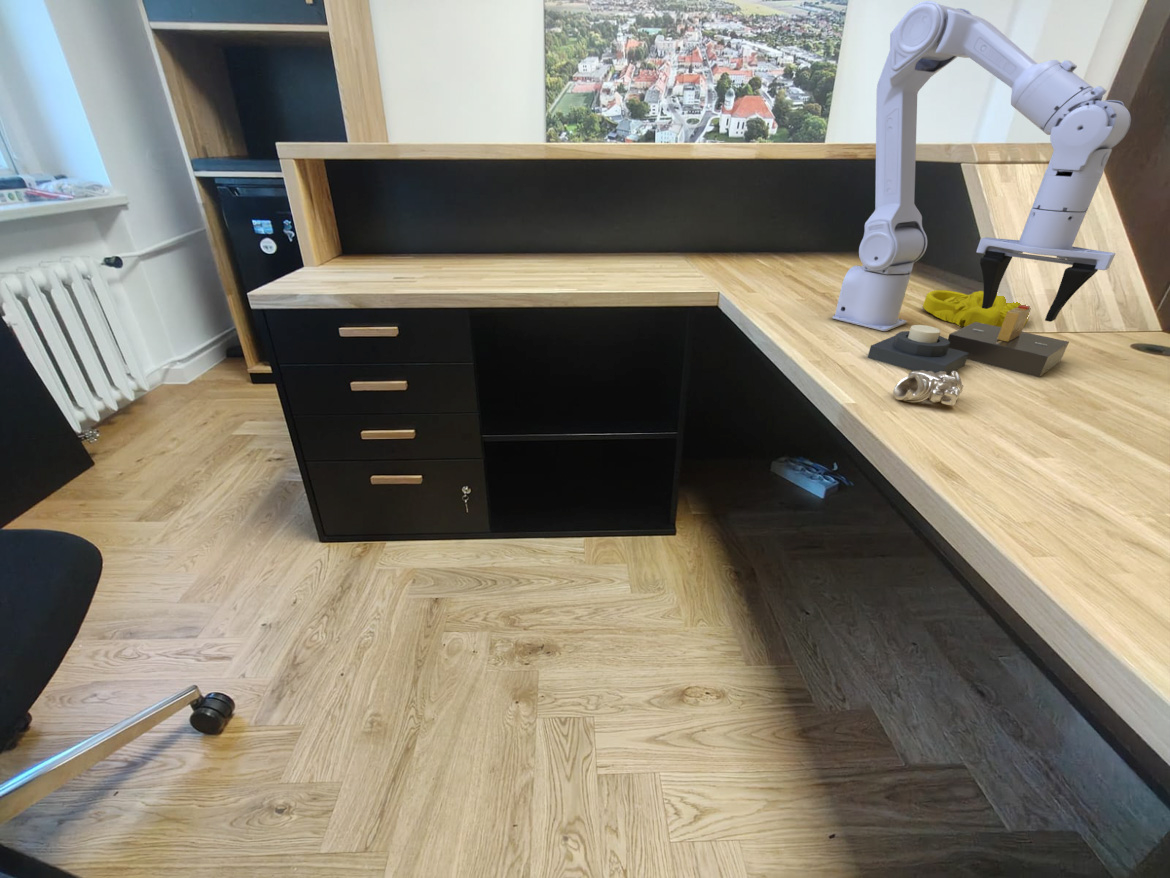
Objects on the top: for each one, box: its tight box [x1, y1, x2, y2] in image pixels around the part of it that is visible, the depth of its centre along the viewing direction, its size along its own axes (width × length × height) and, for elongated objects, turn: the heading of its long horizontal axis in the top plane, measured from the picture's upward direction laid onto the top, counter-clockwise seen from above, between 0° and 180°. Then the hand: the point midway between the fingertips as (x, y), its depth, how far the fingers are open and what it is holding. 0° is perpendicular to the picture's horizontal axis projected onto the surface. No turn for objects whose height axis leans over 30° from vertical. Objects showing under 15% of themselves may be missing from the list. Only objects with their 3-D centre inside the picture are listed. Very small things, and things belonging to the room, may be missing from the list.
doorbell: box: [867, 330, 969, 376], centre depth 78 cm, size 10×8×4 cm
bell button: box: [908, 324, 941, 343], centre depth 77 cm, size 4×4×2 cm
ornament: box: [892, 370, 964, 406], centre depth 66 cm, size 8×7×4 cm
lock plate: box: [947, 322, 1070, 378], centre depth 80 cm, size 12×10×3 cm
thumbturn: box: [997, 304, 1032, 342], centre depth 78 cm, size 5×1×4 cm, turn 129°
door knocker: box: [922, 289, 1030, 328], centre depth 99 cm, size 16×16×4 cm
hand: (1017, 313), depth 78 cm, fingers open, 7 cm apart
